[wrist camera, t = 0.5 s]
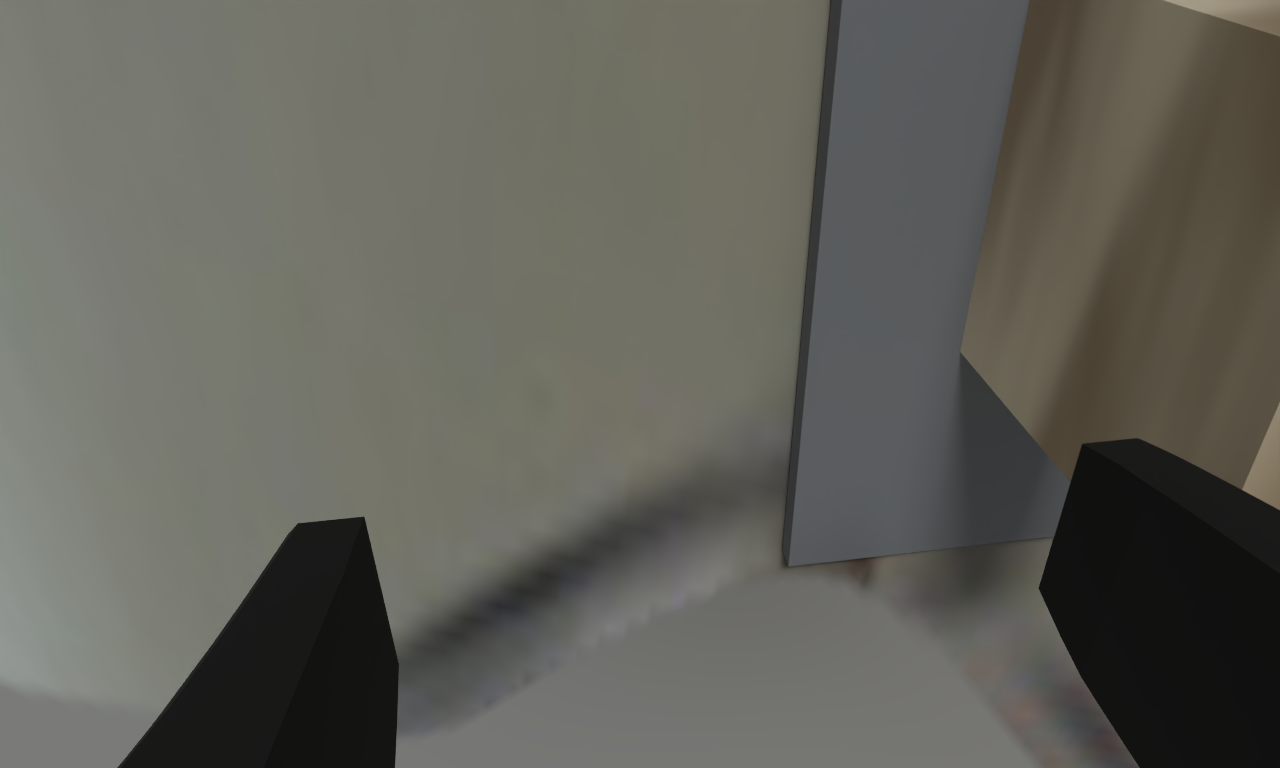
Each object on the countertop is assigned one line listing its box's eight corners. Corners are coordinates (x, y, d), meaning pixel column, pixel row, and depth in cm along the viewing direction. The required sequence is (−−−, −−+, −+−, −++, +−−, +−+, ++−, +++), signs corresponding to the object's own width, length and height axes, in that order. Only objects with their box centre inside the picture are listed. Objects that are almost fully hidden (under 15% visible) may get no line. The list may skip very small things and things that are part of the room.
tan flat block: (1195, -46, 17) (1670, 64, 10) (1086, 340, 21) (1366, 597, 14) (1037, -39, 16) (1418, 80, 10) (960, 351, 21) (1185, 620, 14)
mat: (1938, -482, 15) (1987, -490, 15) (1408, 481, 26) (1426, 494, 25) (874, -494, 13) (890, -505, 13) (782, 550, 24) (788, 566, 24)
